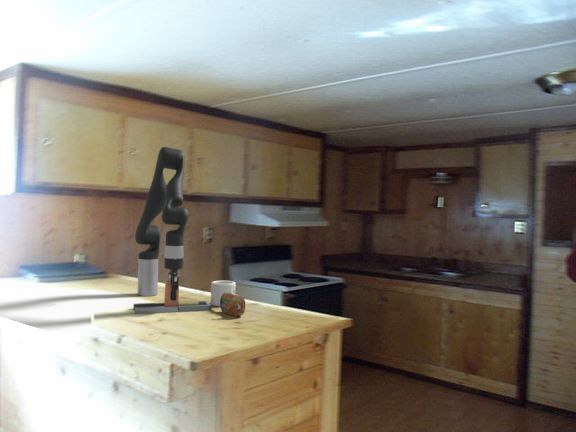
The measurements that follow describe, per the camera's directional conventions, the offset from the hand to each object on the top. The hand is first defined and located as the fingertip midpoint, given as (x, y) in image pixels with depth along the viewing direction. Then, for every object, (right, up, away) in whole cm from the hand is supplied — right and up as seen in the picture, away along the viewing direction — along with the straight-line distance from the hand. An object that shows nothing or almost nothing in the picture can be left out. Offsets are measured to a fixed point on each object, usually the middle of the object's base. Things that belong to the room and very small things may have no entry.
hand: (172, 299), depth 196 cm
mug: (+18, -6, +20) cm, 28 cm away
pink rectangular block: (-1, -4, 0) cm, 4 cm away
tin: (+24, -6, -1) cm, 25 cm away
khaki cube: (+7, -5, +3) cm, 9 cm away
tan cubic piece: (+4, -5, +1) cm, 6 cm away
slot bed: (-6, -5, -2) cm, 8 cm away
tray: (+8, -5, +3) cm, 10 cm away
